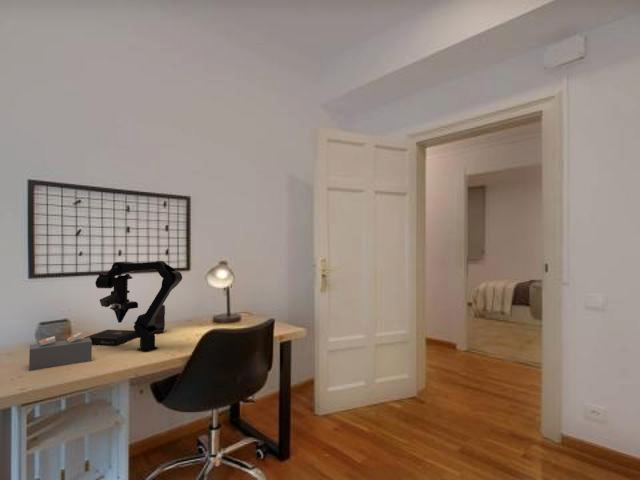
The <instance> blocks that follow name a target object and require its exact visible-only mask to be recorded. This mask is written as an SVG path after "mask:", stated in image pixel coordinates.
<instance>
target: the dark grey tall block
mask: <svg viewBox="0 0 640 480" xmlns="http://www.w3.org/2000/svg"><path fill="white" fill-rule="evenodd" d="M149 307H150V305H149V306H148V308H149ZM165 315H166V306H165V304H163V305H162V307H161V308H160V310H159V312H158V313H157V315H156V318H155V323H154V325H155V326H156V327H157V329H158V333H157V334H156V335H160V334H164V330H165V326H166V323H165V321H166V320H165V318H166V317H165Z"/></svg>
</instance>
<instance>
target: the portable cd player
mask: <svg viewBox="0 0 640 480" xmlns="http://www.w3.org/2000/svg"><path fill="white" fill-rule="evenodd" d="M89 337H90V339H91V341H92V346H98V345H100V346H101V347H102V346H103V347H118V346H121V345H122V344H125V343H128V342H130V341H132V339H133V340H135V339H138V337H137V334H136V332H135V330H132V329H131V330H130V329H129V330H127V329H106V330H102V331H98V332H95V333H93V334H91V335H87V336H84V337H83V338H89ZM120 344H121V345H120Z"/></svg>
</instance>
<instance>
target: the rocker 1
mask: <svg viewBox="0 0 640 480" xmlns="http://www.w3.org/2000/svg"><path fill="white" fill-rule="evenodd" d="M51 342H57V340H56V336H55V335H53V336H50V337H47V338H43V339H40V340H39V342H38V343H39V344H40V346H42V345H45V344H48V343H51Z"/></svg>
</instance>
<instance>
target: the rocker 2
mask: <svg viewBox="0 0 640 480" xmlns="http://www.w3.org/2000/svg"><path fill="white" fill-rule="evenodd" d="M81 338H83V334H82V332H81V331H80V332H78V333H75V334H73V335H71V336H70V337H67V340H68V342H69V343H71V342H73V341H75V340H77V339H81Z"/></svg>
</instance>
